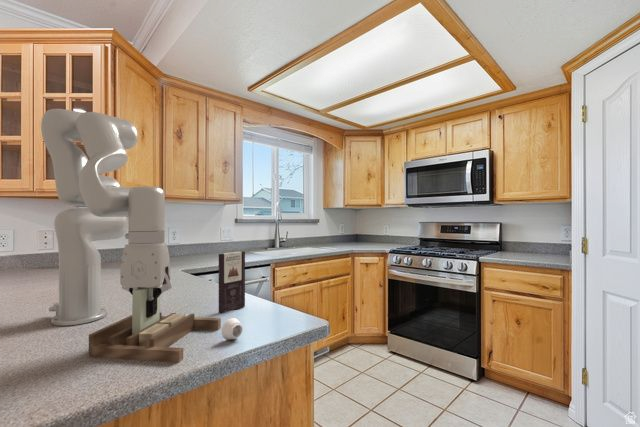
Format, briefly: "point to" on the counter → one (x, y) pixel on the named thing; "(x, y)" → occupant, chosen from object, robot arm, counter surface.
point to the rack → (124, 345)
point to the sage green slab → (142, 310)
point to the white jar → (231, 329)
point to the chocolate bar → (231, 281)
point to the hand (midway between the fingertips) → (146, 315)
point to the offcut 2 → (172, 319)
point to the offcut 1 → (151, 333)
